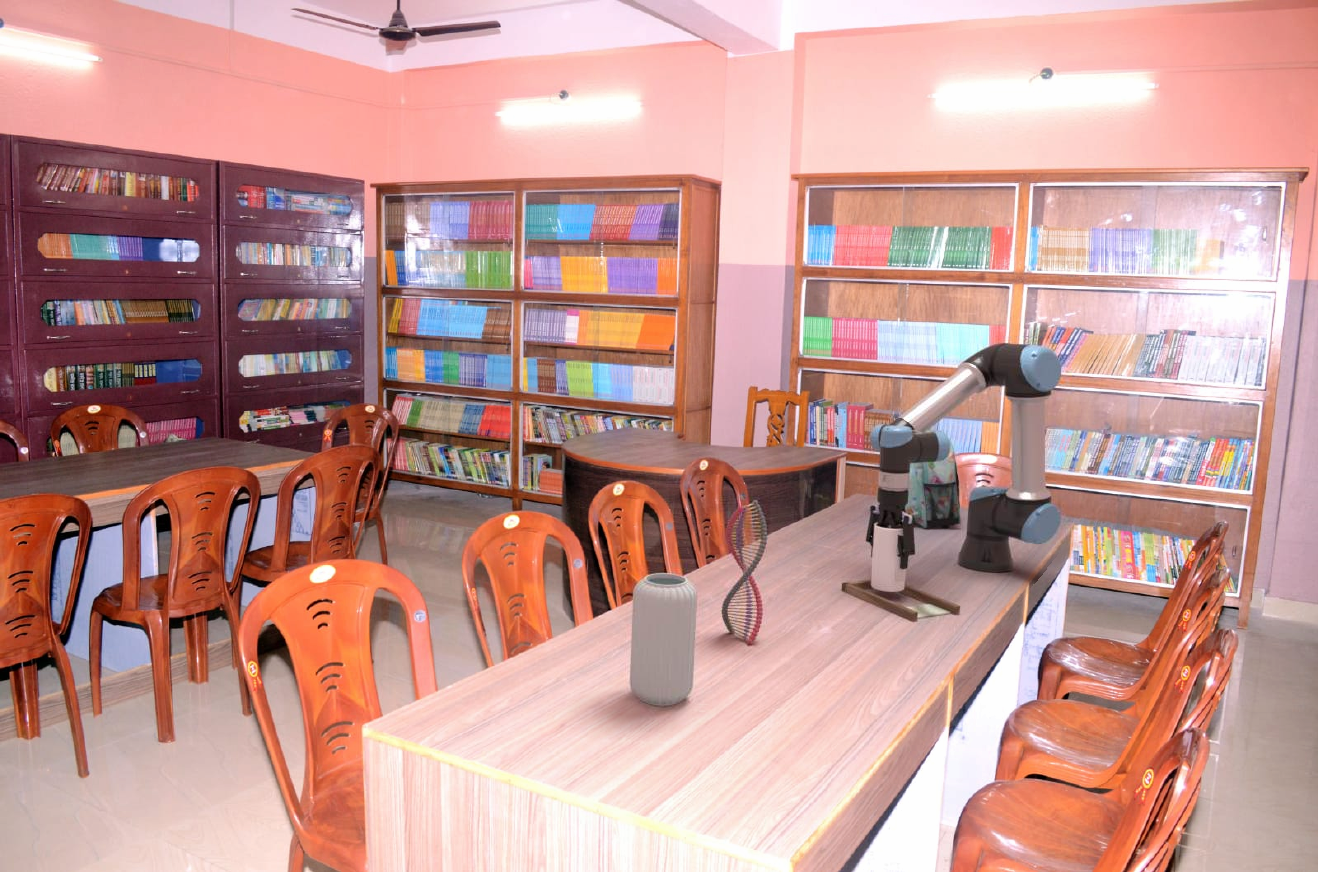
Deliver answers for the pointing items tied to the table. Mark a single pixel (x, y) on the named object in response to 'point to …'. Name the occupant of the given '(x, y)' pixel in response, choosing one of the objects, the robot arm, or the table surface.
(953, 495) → the backpack
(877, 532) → the cup
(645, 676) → the vase
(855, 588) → the frame
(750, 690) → the table surface
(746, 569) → the dna model
